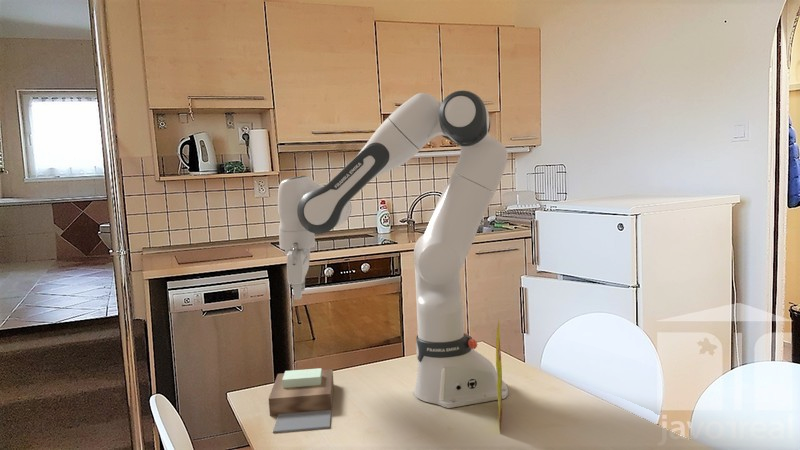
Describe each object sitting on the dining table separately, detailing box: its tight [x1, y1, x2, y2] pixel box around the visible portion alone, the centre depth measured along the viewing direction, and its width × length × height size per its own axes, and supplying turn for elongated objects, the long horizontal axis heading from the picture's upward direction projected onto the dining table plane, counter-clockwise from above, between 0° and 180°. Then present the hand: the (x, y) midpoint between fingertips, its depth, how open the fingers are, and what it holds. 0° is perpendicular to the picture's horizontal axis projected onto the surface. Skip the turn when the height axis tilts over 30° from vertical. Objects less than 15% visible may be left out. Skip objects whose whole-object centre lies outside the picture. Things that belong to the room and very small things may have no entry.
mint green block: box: [282, 367, 323, 388], centre depth 139 cm, size 9×6×2 cm, turn 95°
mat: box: [272, 409, 332, 434], centre depth 126 cm, size 12×8×1 cm
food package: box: [495, 319, 503, 431], centre depth 122 cm, size 15×1×20 cm, turn 168°
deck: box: [268, 369, 335, 417], centre depth 139 cm, size 14×16×4 cm
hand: (299, 294), depth 145 cm, fingers open, 8 cm apart
